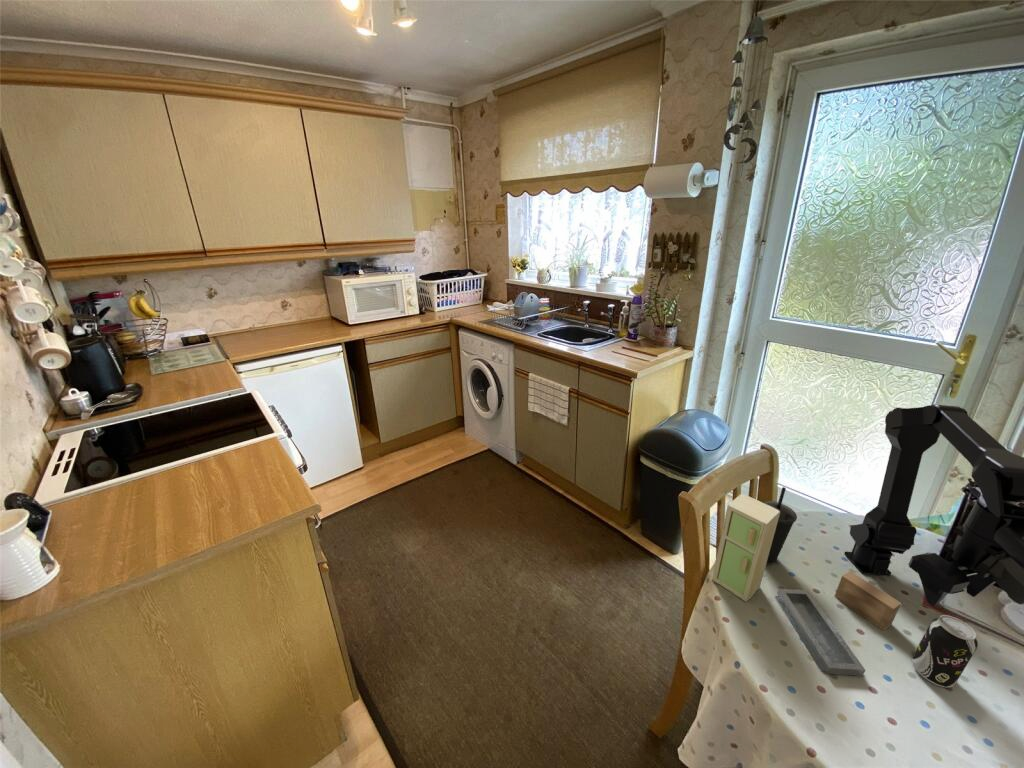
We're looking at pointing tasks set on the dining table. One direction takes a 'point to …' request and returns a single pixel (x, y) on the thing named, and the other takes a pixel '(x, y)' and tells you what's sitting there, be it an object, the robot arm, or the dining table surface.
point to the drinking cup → (780, 526)
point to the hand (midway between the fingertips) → (950, 599)
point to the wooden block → (867, 600)
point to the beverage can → (945, 650)
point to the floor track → (818, 633)
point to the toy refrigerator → (745, 545)
